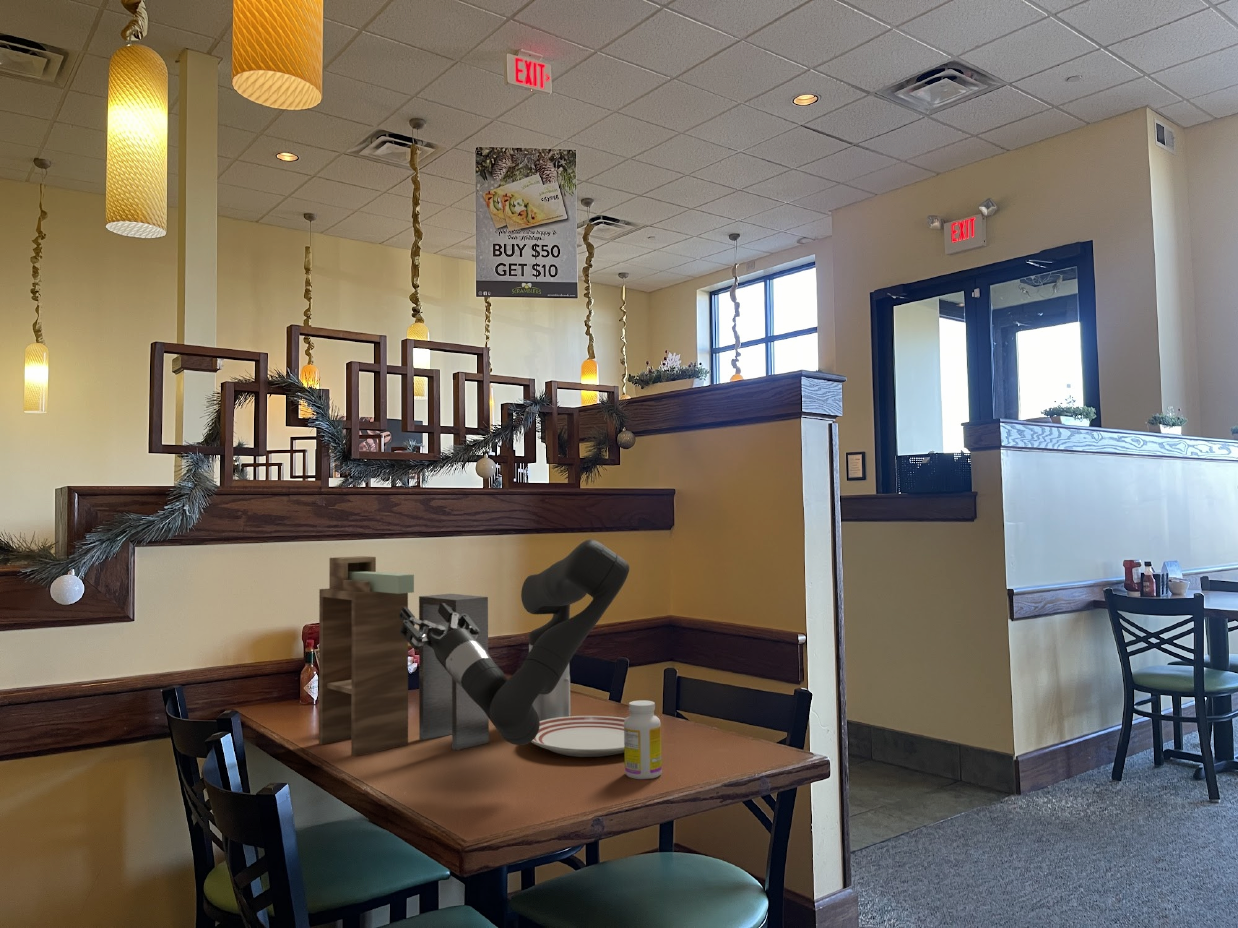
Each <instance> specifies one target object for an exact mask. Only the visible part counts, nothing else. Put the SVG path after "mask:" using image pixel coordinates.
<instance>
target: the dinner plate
mask: <svg viewBox="0 0 1238 928" xmlns="http://www.w3.org/2000/svg"><path fill="white" fill-rule="evenodd" d="M626 718H627V717H618V716H611V715H610V716H607V715H605V716H604V715H574V716H573V715H572V716H571V715H570V716H569V717H558V718H552V719H547V720H542V721H540V727H539V731H538V734H537V736H536V737H535V738H534V739H533V740H532V741H531V742H530V743H532V744H533V745H536V746H538V747H540V748H543V749H545V750H549V751H551V752H553V753H556V754H560V755H565V756H568V757H569V756H570V757H579V758H580V757H583V758H584V757H588V758H590V757H591V758H592V757H606V756H613V755H618V754H623V753H625V750H624V721H625V719H626Z"/></svg>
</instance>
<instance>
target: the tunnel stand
mask: <svg viewBox="0 0 1238 928" xmlns="http://www.w3.org/2000/svg"><path fill="white" fill-rule="evenodd" d="M376 562H377V559H376V556H366V555H365V556H364V555H362V556H361V555H359V556H358V555H357V556H338V557H329V562H328V563H329V564H328V565H329V569H328V570H329V571H328V572H329V577H328V578H329V581H328V582H329V584H328V585H329V588H319V589H318V590H319V592H318V593H319V595H318V596H319V598H318V599H319V600H318V601H319V605H318V606H319V607H318V609H319V618H318V619H319V621H318V623H319V624H318V625H319V628H318V630H319V631H318V633H319V635H318V638H319V639H318V643H319V644H318V651H319V652H318V655H319V656H318V662H319V663H318V684H319V685H318V744H319V745H321V746H322V745H326V744H331V743H332V744H333V743H336V742H343V741H346V740H351V744H350V745H351V746H350V747H351V748H350V750H351V752H350V753H351V756H354V757H357V756H362V755H367V754H371V753H372V754H373V753H376V752H381V751H384V750H385V751H386V750H390V749H394V748H399V747H403V746H408V745H409V642H408V641H407V640H406V639H405V638H404V637H403V636H402V635H401V634H400V629H401V627H402V623H403V621H402V620H401V619H400V618H399V615H400V612H401V609H402V607H407V608H408V609H409V593H401V594H396V593H386V592H376V591H370V582H367V581H355V580H348V571H368V572H377V568H376V567H377V566H376V565H377V564H376Z"/></svg>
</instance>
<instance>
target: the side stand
mask: <svg viewBox="0 0 1238 928" xmlns="http://www.w3.org/2000/svg"><path fill="white" fill-rule="evenodd" d="M441 603H445V604H446V605H447V606H449V607H450V608H451V610H452V611H453V612H454V613H458V614H459V615H461V616H462V614H467V615H468V616H469V617H470V619H471V620H472V621H473V622H474V624H475V625H476V626H477V627H478V629H479V630H480V631H479V634H478V637H477V639H476V640H477V641H478V642H479V643H480V644H481V646H482V647H483V648H484V649H485V650H486V651H487V652H488V653H489V597H488V596H481V595H480V596H479V595H471V594H469V595H468V594H458V593H457V594H456V593H442V594H432V595H431V594H429V595H420V596H418V619H419V620H421V621H424V620H427V621H429V622H431V623H442V622H446V621H445V620H444V619H443V617H442V616H441V615H440V614H439V613H438V609H439V606H440V604H441ZM448 623H450V622H448ZM457 627H459V625H457ZM419 628H420V627H419V626H418V629H419ZM459 628H460V627H459ZM428 629H429V628H428V627H425V630H424V634H425V635H427V632H428ZM418 667H419V669H418V676H419V677H418V685H419V686H418V687H419V689H418V699H419V700H418V702H419V703H418V706H419V707H418V708H419V713H418V714H419V715H418V719H419V720H418V722H419V723H418V725H419V727H418V728H419V730H418V731H419V732H418V735H419V737H418V739H419V741H427V740H431V739H436V738H441V737H445V736H449V735H451V737H452V743H451V744H452V750H454V751H460V750H465V749H468V748H473V747H476V746H482V745H485V744H489V742H490V734H489V733H490V732H489V731H490V727H489V726H490V724H489V723H490V722H489V721H490V719H489V718H488V716H487V715H486V714H485V712H484V711H483V710H482V708H481V707H480V706H479V705H478V704H477V703H476V702H474V701H473V699H472V698H471V697H470V696H469V695H468V694H467V692H466V691H465V690H464V689H463V688H462V687H461V686H460V685H459V684H458V683H457V682H456V681H455V680H454V679H453V678H452V677H451V675H450V674H449V673H448V672H447V671H446V669H445V668H444V667H443V666H442V664H441V663H440V662H439V661H438V660H437V658H436V656H435V653H434V650H433V648H431V647H430V646H428V645H421V646H420V649H419V650H418Z"/></svg>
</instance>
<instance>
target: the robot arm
mask: <svg viewBox="0 0 1238 928" xmlns="http://www.w3.org/2000/svg"><path fill="white" fill-rule="evenodd" d="M629 573H630V565H629V563H628V561H626V560H625V559H624V558H623V557H621V556H620V555H618V554H617V553H616V552H614V551H613V550H611V549H610V548H608V547H607V546H606V545H604V544H603V543H601V542H600V541H597V540H595V539H586V540H584V541H583V542H581V543H579V544H578V545H577V546H576V547H575V548H574V549H573V550H572V551H571V552H570V553H569V554H568V555H567V556H566V557H564V558H563V559H561V560H558V561H556V562H555V563H553V564H551V566H549V567H548V568H546V569H544V570H542V571H541V572H540V573H536V574H530V575H528V576H527V577H526V579H524V581H523V583H522V587H521V591H520V593H521V594H520V598H521V602H522V606H523V609H525V611H526V612H528V613H529V614H531V615H552V617H551V619H550V620H549V621H548V622H547V623H545V624H543V625H542V626H540V627H538V628H535V629H533V630H531V631H529V635H528V654H527V656H526V658H525V659H524V661H523V662H522V665H521V666H520V668H518V669H517V670H516V671H515V672H514V673H513V674H512V675H511V676H510V677H509V678H508V677H507V675H506V674H505V672H504V671H503V670H502V669H501V667H500V666H498V665H497V664H496V662H495V661H494V660H493V658H492V657H491V655H490V654H489V651H488V652H487V651H486V650H485V649H484V648H483V647H482V646H481V644H480V643H479V642H478V641H477V640H476V639H477V637H478V634H479V631H480V630H479V629H478V627H477V626H476V625H475V624H474V622H473V621H472V620H471V619H470V617H469V616H468V615H467V614H462V616H461V615H459V614H458V613H454V612H453V611H452V610H451V608H450V607H449V606H447V605H446V604H445V603H441V604H440V606H439V609H438V613H439V614H440V615H441V616H442V617H443V619H444V620H445V621H446V622H442V623H431V622H429V621H427V620H424V621H421V620H419V618H417V617H416V616H415V615H414V614H413V612H412V611H411V610H410V609H409V607H408V608H407V607H402V609H401V612H400V615H399V618H400V619H401V620H402V621H403V623H402V627H401V629H400V634H401V635H402V636H403V637H404V638H405V639H406V640H407V641H408V645H410V646H411V647H412V648H413V649H414V650H418V651H419V649H420V646H421V645H428V646H430V647H431V648H433V650H434V653H435V656H436V658H437V660H438V661H439V662H440V663H441V664H442V666H443V667H444V668H445V669H446V671H447V672H448V673H449V674H450V675H451V677H452V678H453V679H454V680H455V681H456V682H457V683H458V684H459V685H460V686H461V687H462V688H463V689H464V690H465V691H466V692H467V694H468V695H469V696H470V697H471V698H472V699H473V701H474V702H476V703H477V704H478V705H479V706H480V707H481V708H482V710H483V711H484V712H485V714H486V715H487V716H488V718H489V721H490V722H491V723H492V725H493V726H494V728H495V729H496V731H498V733H499V735H500V736H501V737H502V738H503V739H504V740H505V741H506V742H508V743H509V744H512V745H514V746H523V745H528V744H529V743H532V742H531V741H532V740H533V739H534V738H535V737H536V736H537V734H538V731H539V727H540V721H542V720H547V719H552V718H558V717H569V716H571V674H570V662H571V660H572V659H573V657H574V655H575V654H576V652H577V650H578V649H579V648H580V646H581V645H582V643H583V642H584V641H585V639H586V638H587V636H588V635H589V634H590V633H591V631H592V630H593V629H594V627H595V626H596V625H597V624H598V622H599V621H600V619H602V617H603V615H604V614H605V612H606V611H607V609H608V608H609V606H610V605H612V602H613V601H614V599H615V598H616V597H617V595H618V594H619V592H620V591H621V589H622V587H623V586H624V584H625V582H626V580H627V579H628V575H629ZM587 595H589V596H590V597H591V598H592V600H591V602H589V604H588V605H587V606H586V608H584V609H583V610H582V611H580V612H579V613H577V614H576V615H574V616H572V617H570V615H571V614H570V611H571V610H570V609H571V605H573V604H575V603H578V602H579V601H581V600H582V599H583V598H585V597H586V596H587ZM448 622H450V623H448ZM457 625H459V627H460V628H459V627H457ZM415 626H418V628H417V627H415ZM419 627H420V628H419ZM425 627H428V628H429V629H428V632H427V635H425V634H424V630H425Z"/></svg>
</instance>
